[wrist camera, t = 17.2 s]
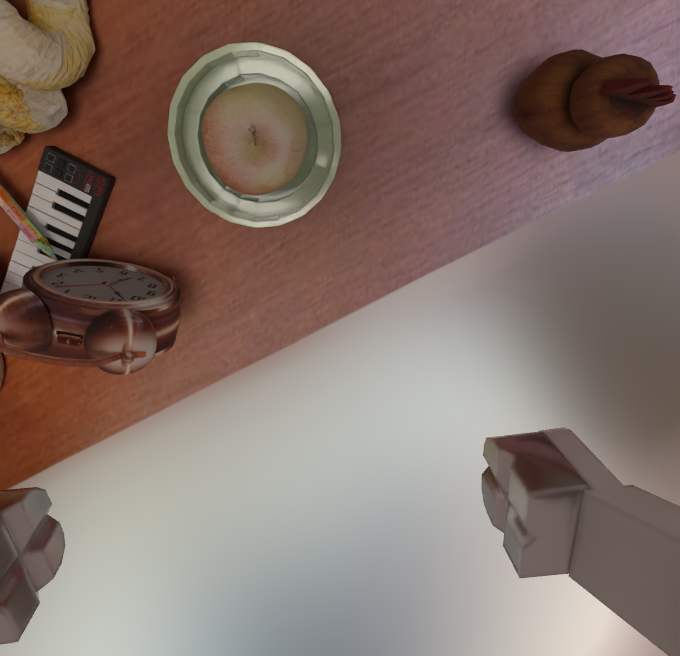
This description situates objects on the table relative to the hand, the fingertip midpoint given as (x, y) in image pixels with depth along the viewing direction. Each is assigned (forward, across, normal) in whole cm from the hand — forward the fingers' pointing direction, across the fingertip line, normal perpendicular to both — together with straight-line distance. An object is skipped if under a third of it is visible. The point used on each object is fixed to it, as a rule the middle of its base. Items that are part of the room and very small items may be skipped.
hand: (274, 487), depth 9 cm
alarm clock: (+33, +15, +5) cm, 37 cm away
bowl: (+33, +2, -6) cm, 34 cm away
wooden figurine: (+33, -21, -7) cm, 40 cm away
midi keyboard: (+32, +23, 0) cm, 40 cm away
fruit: (+33, +2, -6) cm, 33 cm away
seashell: (+33, +18, -13) cm, 40 cm away
